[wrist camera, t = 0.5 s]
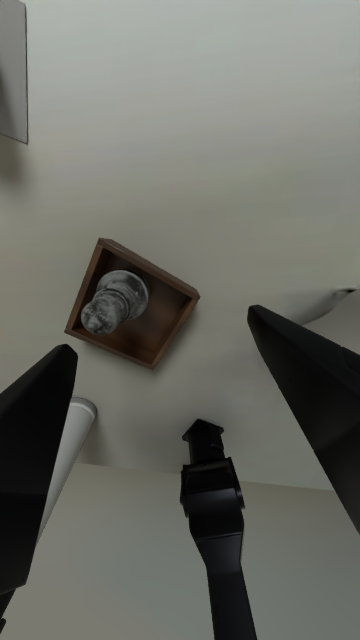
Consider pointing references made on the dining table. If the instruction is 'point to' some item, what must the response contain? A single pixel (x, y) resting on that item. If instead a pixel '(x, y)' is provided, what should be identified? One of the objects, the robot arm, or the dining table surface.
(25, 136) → the stacked layers on plate
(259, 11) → the dining table surface
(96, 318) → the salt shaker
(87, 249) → the dining table surface
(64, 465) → the travel mug
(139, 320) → the wooden box
